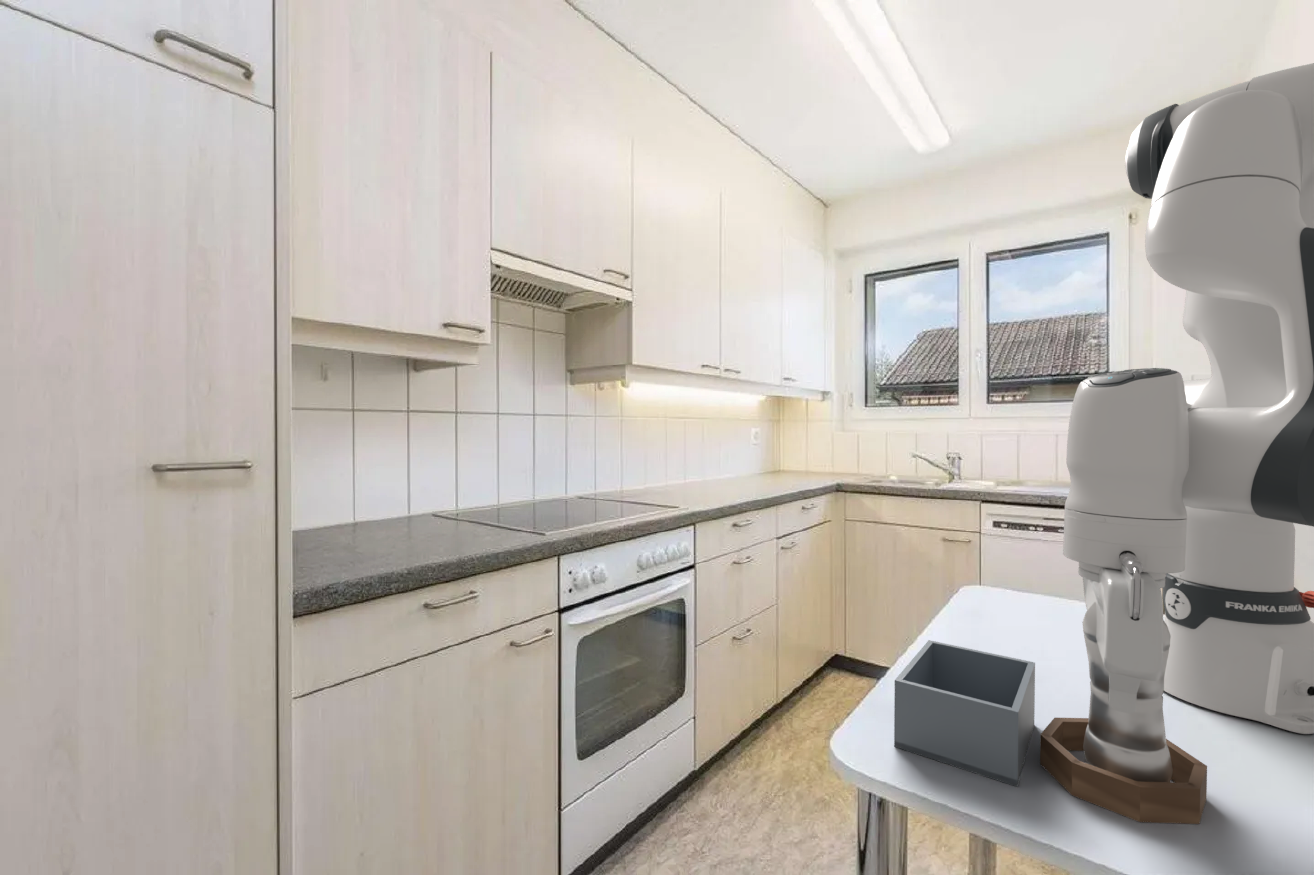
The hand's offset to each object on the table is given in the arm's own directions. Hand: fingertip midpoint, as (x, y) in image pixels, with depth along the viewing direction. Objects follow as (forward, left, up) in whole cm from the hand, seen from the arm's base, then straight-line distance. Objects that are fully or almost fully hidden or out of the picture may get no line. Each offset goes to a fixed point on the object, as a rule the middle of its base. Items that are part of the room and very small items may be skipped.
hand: (1116, 692), depth 54 cm
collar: (-1, -1, -9) cm, 9 cm away
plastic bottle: (-1, 0, -9) cm, 9 cm away
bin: (+10, -8, -9) cm, 15 cm away
